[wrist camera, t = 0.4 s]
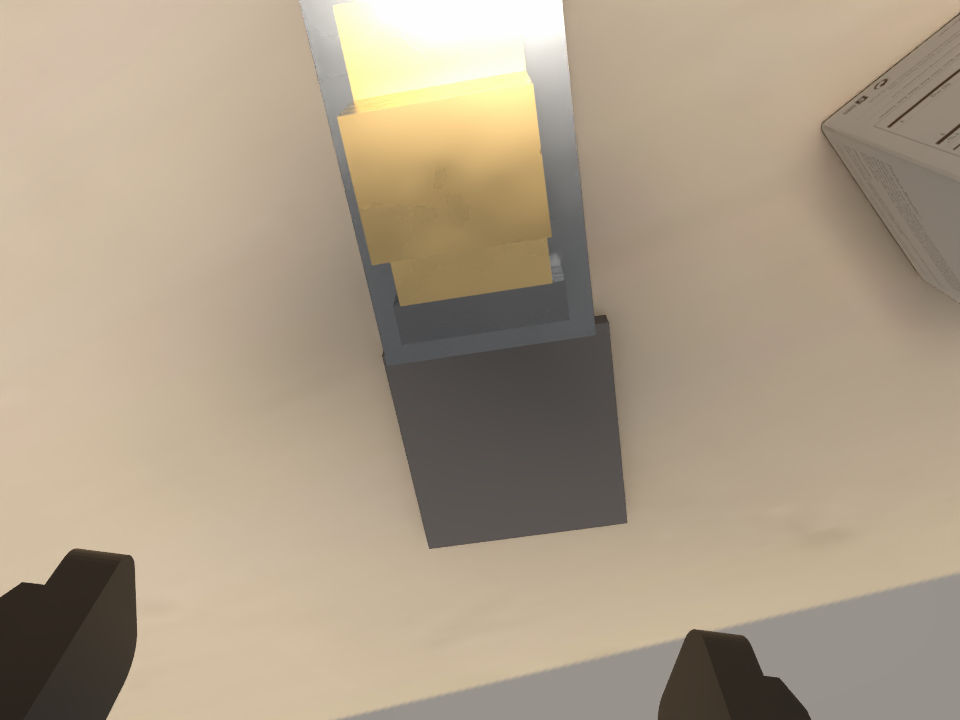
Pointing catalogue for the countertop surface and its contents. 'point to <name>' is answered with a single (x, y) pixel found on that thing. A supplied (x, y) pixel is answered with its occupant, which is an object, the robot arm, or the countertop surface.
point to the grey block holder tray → (569, 297)
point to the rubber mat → (513, 440)
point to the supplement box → (912, 154)
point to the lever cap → (445, 146)
